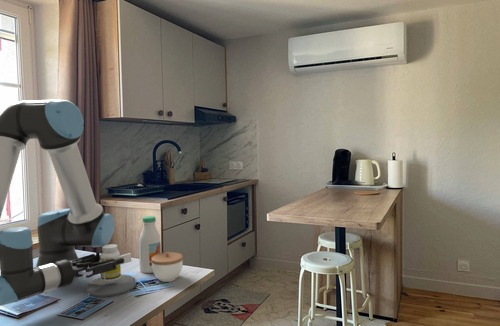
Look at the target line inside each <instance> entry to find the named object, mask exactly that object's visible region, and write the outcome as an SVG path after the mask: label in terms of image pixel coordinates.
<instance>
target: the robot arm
mask: <svg viewBox="0 0 500 326" xmlns="http://www.w3.org/2000/svg"><path fill="white" fill-rule="evenodd" d="M84 122H85V121H84V117H83V114H82V112H81V110H80V109H79V107H78V106H77V105H76V104H75V103H74V102H71V101H69V100H66V99H57V98H54V99H41V100H40V99H38V100H28V99H27V100H20V101H17V102H14V103H12V104H11V105H10V106H8V107H7V108H6V109H5V110H3V112H1V114H0V219H1V217H2V215H3V214H2V213H3V211H4V206H5V204H6V201H7V197H8V193H9V190H10V188H11V184H12V180H13V176H14V173H15V170H16V166H17V164H18V160H19V157H20V153H21V151H23V150H25V149H26V146H27V143H28V142H29V140H31V139H32V140H33V139H37V141H38V144H39V147H40V148H41V149H42V150H44V151H46V152H48V154H49V158H50V160H51V163H52V165H53V168H54V171H55V174H56V176H57V179H58V181H59V184H60V187H61V190H62V193H63V194H64V195H63V196H64V198H65V201H66V204H67V206H68V208H62V209H56V210H50V211H47V212H43V213H41V214H39V216H38V217H37V226H36V227H37V239H38V252H39V254H38V258H37V261H36V264H35V266H34V252H33V248H34V247H33V244H34V241H33V238H32V230H31V228H29V227H26V226H14V227H6V228H3V229H1V230H0V306H5V305H9V304H13V303H18V302H20V301H23V300H25V299H29V298H31V297H35V296H37V295H41V294H43V295H44V294H45V295H46V294H48V292H50V291H53V290H54V291H55V290H56V289H61V288H64V287H66V286H70V285H71V284H73V283H74V282H73V281H74V279H75V278H81V277H84V276H85V278H86V279H89V278H92V277H94V276H97V275H101V273H104V272H108V271H111V270H115V269H116V266H118V265H120V266H121V265H124V264H127V263H130V262H132V253H131V252H129V253H125V254H122V255H121V254H120V256H118V257H114V258H112V259H111V260H106V261H101V262H100V255H101V254H102V253H100V251H98V252H95V253H92V254H88V255H84V256H82V257H78V254H77V252H76V247H85V248H86V247H87V248H88V247H89V248H99V247H103V246H104V245H108V244H109V242H110V241H111V240H112V237H113V234H114V231H115V218H114V216H113V215H112V214H110V213H105V211H104V207H103V206H102V205H101V204H99V203H97V200H96V198H95V195H94V191H93V189H92V187H91V186H92V185H91V183H90V180H89V177H88V173H87V170H86V166H85V164H84V161H83V159H82V155H81V152H80V148H79V145H78V143H79V142H80V140H81V136H82V134H83V132H84V128H85V126H83V125H84ZM117 251H118V252H119V253H120V249H117Z"/></svg>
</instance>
